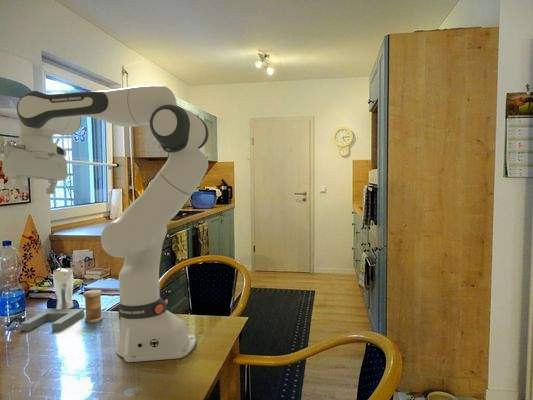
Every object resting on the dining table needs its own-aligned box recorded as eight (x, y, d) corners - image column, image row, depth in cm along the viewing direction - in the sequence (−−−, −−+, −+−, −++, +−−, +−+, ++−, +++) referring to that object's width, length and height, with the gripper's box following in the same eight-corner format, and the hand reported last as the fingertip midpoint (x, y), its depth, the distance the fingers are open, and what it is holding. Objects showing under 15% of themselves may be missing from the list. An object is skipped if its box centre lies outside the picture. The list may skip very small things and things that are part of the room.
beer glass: (62, 304, 157) (60, 267, 157) (78, 304, 157) (76, 267, 156) (51, 310, 151) (48, 272, 150) (67, 310, 150) (65, 272, 149)
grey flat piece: (84, 315, 143) (83, 309, 143) (60, 330, 130) (60, 323, 129) (48, 315, 145) (47, 309, 145) (21, 330, 131) (20, 323, 131)
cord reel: (105, 316, 142) (104, 289, 141) (97, 322, 136) (96, 294, 135) (90, 316, 142) (89, 289, 141) (81, 322, 136) (80, 294, 136)
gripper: (12, 140, 108) (14, 189, 107) (70, 151, 128) (71, 194, 127) (-5, 143, 110) (-4, 191, 109) (55, 154, 129) (56, 195, 129)
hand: (37, 193), depth 118 cm, fingers open, 8 cm apart
